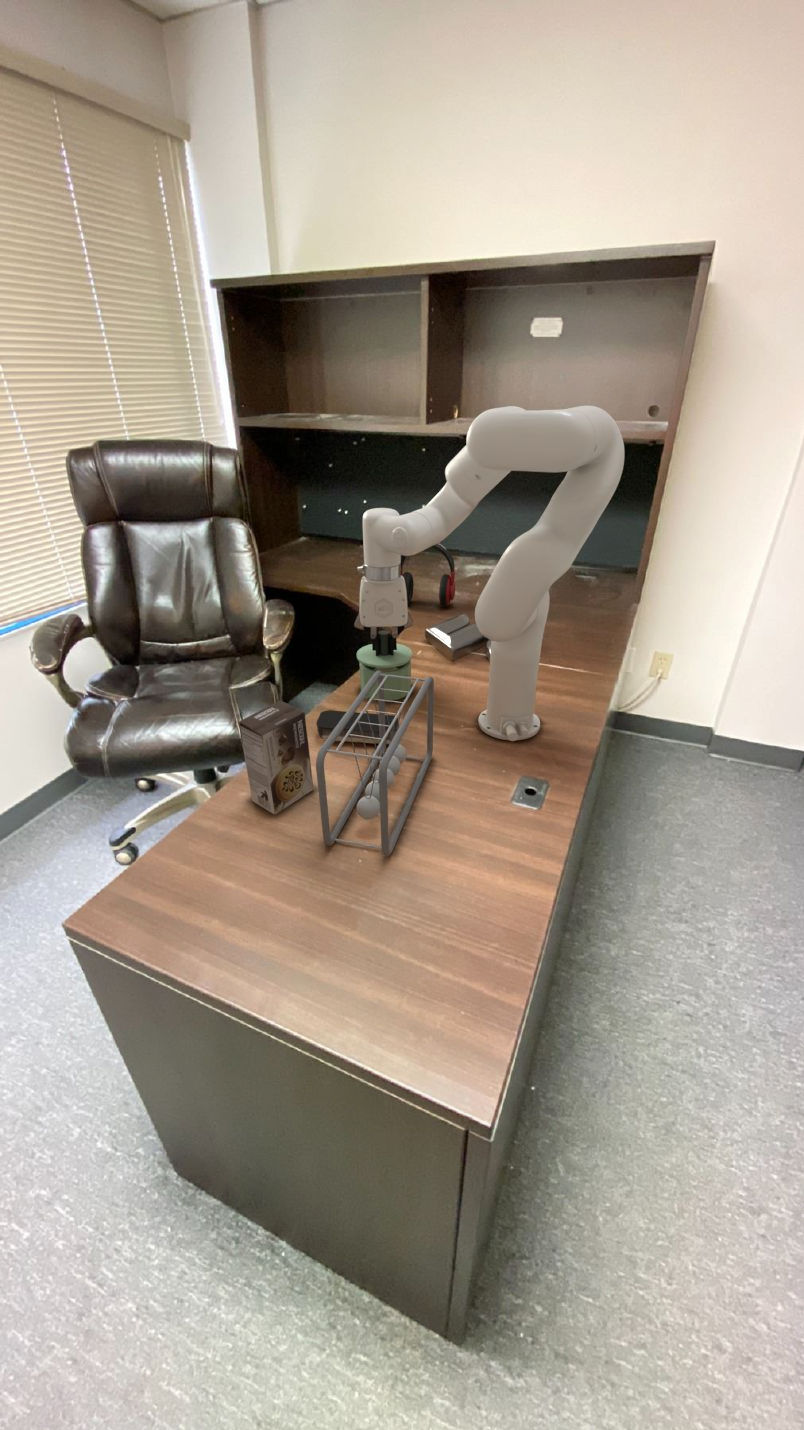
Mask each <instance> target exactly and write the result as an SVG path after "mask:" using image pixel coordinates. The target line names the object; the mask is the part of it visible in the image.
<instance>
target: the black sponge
mask: <svg viewBox="0 0 804 1430" xmlns="http://www.w3.org/2000/svg"><path fill="white" fill-rule="evenodd" d="M346 712H347V711H345V710H344V711H342V710H333V709H328V710H327V709H326V710H323V711H321V712H320V714H319V717H318V718H317V720H316V732H317V734H318V736H319V738H320V739H322V740H325V741H326V740H327V738H328V737H329V735H330V734H331V733H332V731H333V730H334V729H335V727H336V726H337V724H338V723H339V722H340V720H341V719H342V718H343V716H344V715H345V713H346ZM360 713H361V712H357V711H356V712H355V713H354V714H353V716H352V717H351V719H350V720H349V722H348V723H347V724H346V726H345V727H344V729H343V730H342V732H341V733H340V734H339V736H338V737H337V739H336V740H335V742H341V741H342V740H343V738H344V737H345V735H346V734H347V732H348V731H349V729H350V728H351V726H352V725H353V723H354V722H355V721H356V719H357V718H358V716H359V715H360ZM387 715H388V719H389V723H388V719H387ZM387 715H386V714H385V725H387V726H385V733H386V732H387V730H388V727H389V724H390V725H391V723H392V721H393V720H394V718H395V715H394V714H387ZM368 716H369V720H370V723H372V724H371V728H372V732H373V736H374V740H375V744H376V745H377V744H378V745H379V744H380V739H376V738H380V731H379V725H375V724H379V720H378V716H379V713H378V716H377V713H371V712H370V713H369V712H368ZM368 716H367V712H364V713H363V715H362V716H361V718H360V719H359V721H358V722H359V723H360V722H365V723H360V727H361V731H362V735H363V736H366V737H363V739H364V742H365V744H374V740H373V738H368V737H373V736H372V732H371V728H370V724H368V723H369V720H368ZM398 721H399V717H398V718H397V719H396V721H395V725H394V730H393V726H392V728H391V732H392V730H393V735H392V737H393V738H394V736H395V734H396V731H397V726H398ZM358 722H357V724H356V725H355V727H354V728H353V730H352V731H351V733H350V734H351V737H352V741H353V743H361V744H364V743H363V739H362V737H361V736H362V735H361V731H360V727H359V723H358ZM399 727H400V725H399V726H398V729H399ZM391 732H389V733H388V737H387V742H386V745H390V740H391ZM354 735H359V736H354ZM391 741H392V740H391ZM344 742H347V743H348V742H349V743H352V742H351V738H350V735H349V736H348V737H347V738H346V740H345V741H344ZM375 744H374V745H375Z"/></svg>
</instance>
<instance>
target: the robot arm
mask: <svg viewBox="0 0 804 1430" xmlns="http://www.w3.org/2000/svg"><path fill="white" fill-rule="evenodd" d="M465 440H466V441H465V443H466V445H465V446H463V448H461V450H459V452H458V453H457V454H456V455H455V456H454V457H453V458H452V459H451V460H450V461H449V462H448V463H447V465H446V467H445V469H444V475H445V480H446V482H445V484H444V485H443V487H441V489H440V490H439V492H437V494H436V495H435V496H434V497H433V498H432V499H431V500H430V501H429V502H428V503H427V504H426V505H424V506H423V507H422V508H419V509H416V510H413V511H410V512H408V513H404V514H400V513H399V512H398V511H397V509H393V508H391V507H390V508H389V507H374V508H369V509H367V510H365V512H364V513H363V515H362V541H363V542H362V543H363V544H362V545H363V564H362V565H360V566H357V567H356V569H357V574H362V575H363V576H362V577H361V580H360V586H359V612H358V614H357V616H356V618H355V621H354V625H353V626H354V628H356V629H359V630H362V631H364V633H366V635H368V636H369V637H370V639H371V642H372V643H371V644H372V651H376V656H378V655H379V638H378V632H377V628H388V627H389V628H391V631H390V655H394V650H397V644H398V643H397V642H398V641H397V639H398V637H399V635H400V634H402V632H404V630H406V629H408V628H410V627H412V626H414V620H413V618H412V617H411V614H410V612H409V610H408V609H409V608H408V605H407V591H406V584H405V580H404V577H403V576H401V555H404V556H407V557H409V556H414V555H416V554H419V553H421V552H423V551H425V550H428V549H429V548H431V546H433V545H436V544H438V543H441V542H442V541H444V540H445V539H446V538H447V537H449V535H451V534H452V533H453V532H454V531H455V530H456V529H457V528H458V527H459V526H460V525H461V524H462V523H463V522H464V521H465V520H466V519H467V518H468V517H469V516H470V515H471V513H473V511H474V510H475V508H477V506H478V505H479V503H480V502H481V500H483V499H484V498H485V497H486V495H488V494H489V493H490V492H491V491H492V490H493V489H494V488H495V487H496V486H497V485H498V484H499V483H500V482H501V481H502V480H503V479H505V478H506V477H507V475H508V474H510V473H511V472H512V471H513V472H533V473H535V472H536V473H565V472H566V474H565V476H564V478H563V480H561V483H559V485H558V486H557V488H556V490H555V491H554V493H553V494H552V497H551V498H550V501H549V502H548V504H547V506H546V508H545V510H544V511H543V513H542V514H541V516H540V518H539V519H538V521H537V522H536V524H535V525H533V527H531V528H530V529H529V530H527V531H526V532H524V533H522V534H520V535H519V536H517V537H516V538H515V539H514V540H513V541H511V543H510V544H509V545H508V547H507V548H506V549H505V551H503V553H502V555H501V557H500V559H499V560H498V562H497V563H496V566H495V568H494V570H493V571H492V573H491V574H490V576H489V579H488V580H487V582H486V583H485V586H484V587H483V590H482V591H481V594H480V595H479V597H478V599H477V601H476V602H477V603H476V604H475V608H474V621H475V623H476V625H477V627H478V629H479V631H480V632H481V633H482V634H483V635H484V636H485V637H486V638H488V639H490V640H492V643H491V654H490V661H489V670H488V682H487V684H488V685H487V699H486V709H484V710H483V711H481V713H480V714H479V716H478V721H477V722H478V726H479V729H480V730H481V731H482V732H483V733H485V734H486V735H488V736H490V737H492V738H496V739H499V740H502V741H503V740H504V741H510V742H515V741H521V740H527V739H529V738H532V737H534V736H535V735H537V734H538V733H539V731H540V728H541V721H540V718H539V716H538V715H537V714H536V713H535V705H536V697H537V696H536V695H537V689H538V678H539V669H540V659H541V654H542V645H543V638H544V632H545V627H546V623H547V619H548V615H549V610H550V602H551V601H550V600H551V599H550V598H551V597H550V592H549V590H550V589H551V587H552V585H553V584H554V583H555V582H556V581H557V580H559V579H560V578H562V576H564V575H565V574H566V573H567V572H568V571H569V569H570V568H571V567H572V566H573V563H574V562H575V560H576V558H577V556H578V554H579V553H580V551H581V549H582V548H583V546H584V544H585V543H586V541H587V540H588V538H589V537H590V535H591V533H592V532H593V530H594V528H595V526H596V525H597V523H598V521H599V519H600V518H601V516H602V514H603V513H604V511H605V509H606V508H607V506H608V505H609V503H610V501H611V499H613V498H612V497H613V496H614V494H615V492H616V491H617V488H618V486H619V483H620V481H621V477H622V474H623V470H624V465H625V444H624V439H623V435H622V433H621V431H620V428H619V426H618V424H617V422H616V421H615V420H614V418H613V417H612V416H611V414H610V413H608V412H607V411H606V410H604V409H603V408H601V407H598V406H596V405H579V406H574V407H569V408H563V409H535V410H534V409H533V410H532V409H531V410H527V409H525V408H523V407H520V406H516V405H515V406H514V405H509V406H501V407H494V408H490V409H486V410H484V411H483V412H481V413H480V414H479V415H477V416H476V417H475V419H474V420H473V421H472V423H470V426H469V427H468V431H467V433H466V438H465Z"/></svg>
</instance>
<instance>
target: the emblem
mask: <svg viewBox="0 0 804 1430" xmlns="http://www.w3.org/2000/svg"><path fill="white" fill-rule="evenodd" d="M424 638H425V640H426V641H427V642H428V643H429V644H430V645H431V646H433V647H434V648H435V649H436V650H437V651H438V652H439V653H441V654H442V656H443V657H445V658H446V659H447V660H449V662H454V661H457V660H460V658H463V657H465V656H467V655H469V654H471V653H473V652H476V651H477V650H480V649H481V648H484V647H485V655H486V658H487V660H488V662H490V654H491V643H492V640H490V639H488V638H486V637H485V636H484V635H483V634H482V633H481V632H480V631H479V629H478V627H477V625H476V622H474V623H471V622H470V617H469V615H468V614H467V613H462V614H461V613H460V614H459V615H456V616H454V617H451V618H448V619H446V620H443V621H441V622H437V623H436V624H434V625H433V624H432V625H431V626H429V627H427V628H425V630H424Z"/></svg>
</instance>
